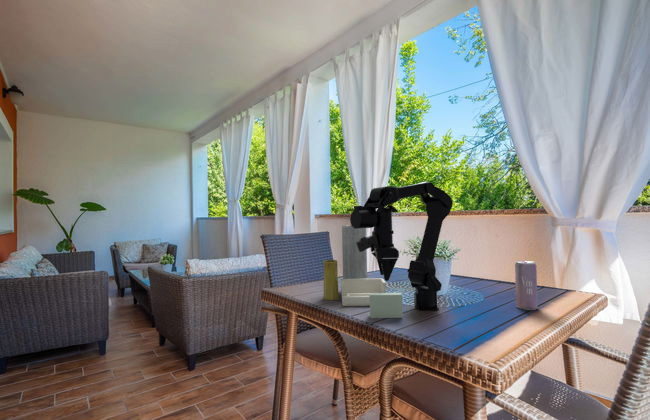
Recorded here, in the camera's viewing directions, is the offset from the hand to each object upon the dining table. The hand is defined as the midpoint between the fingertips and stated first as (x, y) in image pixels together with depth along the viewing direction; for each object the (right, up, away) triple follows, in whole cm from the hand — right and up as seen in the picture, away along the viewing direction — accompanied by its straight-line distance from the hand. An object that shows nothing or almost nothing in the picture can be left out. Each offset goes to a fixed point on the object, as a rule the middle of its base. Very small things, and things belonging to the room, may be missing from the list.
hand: (384, 277), depth 100 cm
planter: (-6, -13, +34) cm, 37 cm away
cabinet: (-4, -12, +18) cm, 23 cm away
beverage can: (+48, -11, +5) cm, 49 cm away
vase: (-16, -13, +23) cm, 31 cm away
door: (0, -12, 0) cm, 12 cm away
